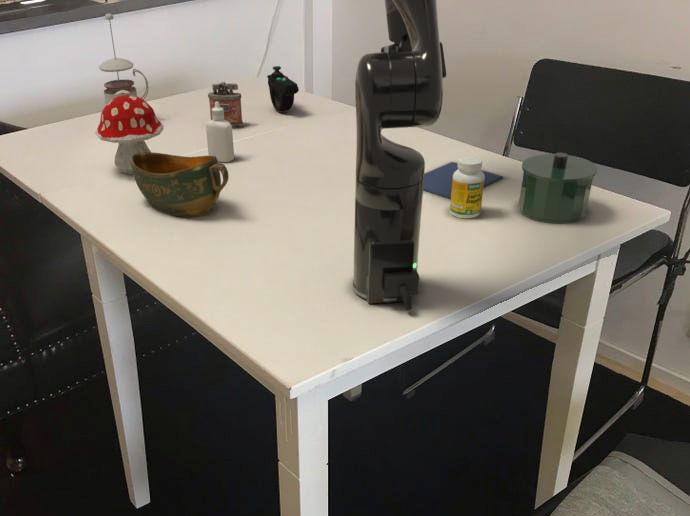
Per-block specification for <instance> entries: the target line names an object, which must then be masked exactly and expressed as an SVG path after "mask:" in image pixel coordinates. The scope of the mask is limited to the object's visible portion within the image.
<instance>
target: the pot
mask: <svg viewBox="0 0 690 516" xmlns="http://www.w3.org/2000/svg"><path fill="white" fill-rule="evenodd" d="M593 180H594V177H592V178H590V179H587V180H584V181H578V182H554V181H547V180H542V179H538V178H535V177H533V176H530V175H528V174H527V173H525V172H524V171H523V173H522V181H521V187H520V192H519V193H520V194H519V200H518V211H519V213H520V214H521V215H523V216H524V217H526V218H528V219H531V220H533V221H536V222H541V223H545V224H546V223H547V224H569V223H574V222H578V221H580V220H582V219H583V218H584V217H585V216H586V214H587V209H588V204H589V199H590V195H591V189H592V185H593Z"/></svg>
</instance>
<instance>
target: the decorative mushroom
mask: <svg viewBox="0 0 690 516" xmlns="http://www.w3.org/2000/svg"><path fill="white" fill-rule="evenodd" d="M143 99H144V98H142V99H141V97H140V96H138V95H137V96H132V95H121V96H118V97H116V98H114V99H112V100H111V101H110V102H109V103H108V104H107V105H106V104H105V106H104V108H103V109H102V111H101V113H100V120H99V124H98V126H97V128H96V130H95V132H94V133H95V135H96V136H97V137H98V138H99V139H100V140H101V141H102V142H103V141H104V142H108V143H112V144H118V145H117V150H116V152H115V155H114V165H115V166H116V167H117V168H118V170H119V171H120V173H123V174H126V175H133V171H132V164H131V158H132V156H133V155H134V154H136V153H143V152H152V151H151V150H150V148H149V147H148V145H147V143H146V141H147V140H151V139H153V138H155V137H157V136H160V135H161V133H162V132H163V130H164V127H165V125H164V124H163V123H162V122H161V120H159V119H158V117H157V115H156V113H155V110H154V108H153V107H152V106H151V105H150V104H149V103H148V102H147V101H146V100H145V99H144V100H143Z"/></svg>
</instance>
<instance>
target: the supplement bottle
mask: <svg viewBox="0 0 690 516" xmlns="http://www.w3.org/2000/svg"><path fill="white" fill-rule="evenodd" d="M457 164H458V170H456V171H455V172H454V174H453V180H452V192H451V199H450V205H449V213H450V214H451V215H452V216H453V217H456V218H459V219H473V218H476V217H478V216H479V215H480V214H481V210H482V205H483V204H482V203H483V195H484V188H485V187H484V179H485V176H484V173H483V172H482V171H481V170H482V167H483V159H482V158H480V157H478V156H471V155H469V156H467V155H466V156H462V157H459V158H458V160H457Z"/></svg>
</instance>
